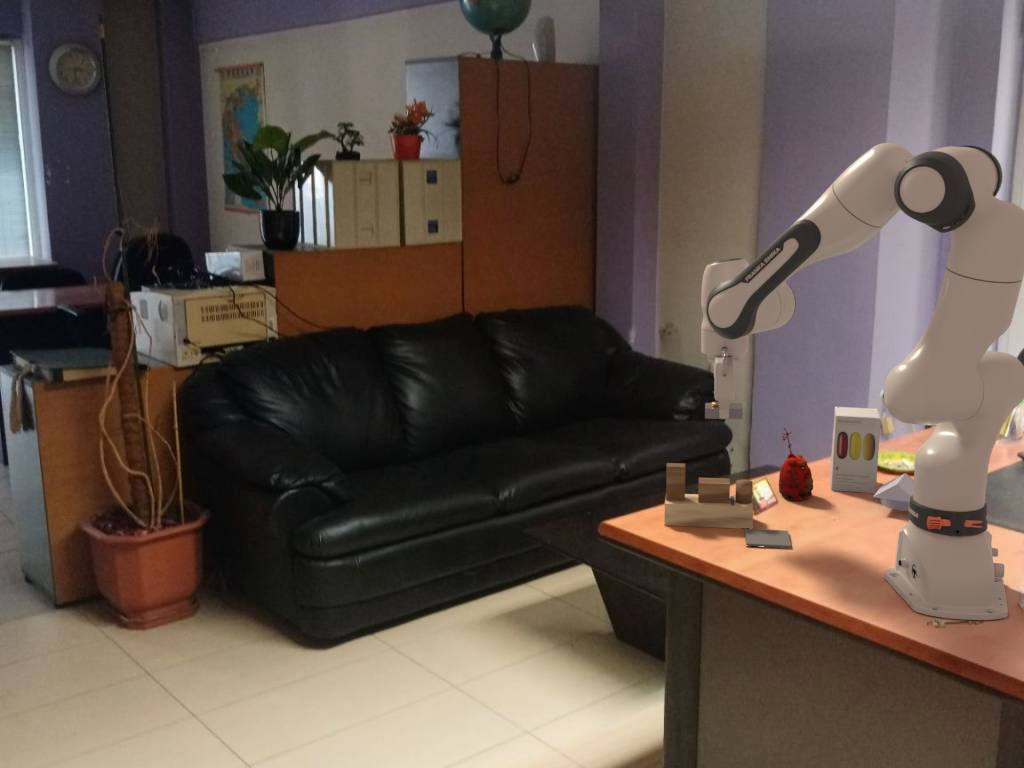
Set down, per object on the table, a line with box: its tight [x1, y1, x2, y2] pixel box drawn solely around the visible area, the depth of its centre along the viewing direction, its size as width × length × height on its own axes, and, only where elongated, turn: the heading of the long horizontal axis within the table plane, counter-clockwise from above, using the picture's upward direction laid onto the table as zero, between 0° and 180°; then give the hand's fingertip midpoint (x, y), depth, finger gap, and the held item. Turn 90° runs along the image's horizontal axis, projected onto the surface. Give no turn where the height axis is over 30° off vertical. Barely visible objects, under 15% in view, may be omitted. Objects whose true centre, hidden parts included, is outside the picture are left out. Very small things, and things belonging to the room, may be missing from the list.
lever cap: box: [704, 401, 743, 420], centre depth 197 cm, size 5×7×3 cm
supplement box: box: [829, 406, 881, 494], centre depth 222 cm, size 10×9×17 cm
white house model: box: [873, 472, 914, 512], centre depth 209 cm, size 9×7×13 cm
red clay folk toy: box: [778, 427, 814, 502], centre depth 216 cm, size 8×7×15 cm
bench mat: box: [744, 528, 792, 549], centre depth 193 cm, size 8×8×1 cm
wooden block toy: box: [664, 462, 754, 529], centre depth 203 cm, size 6×17×12 cm, turn 79°
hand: (723, 414), depth 198 cm, fingers closed on lever cap, 5 cm apart
